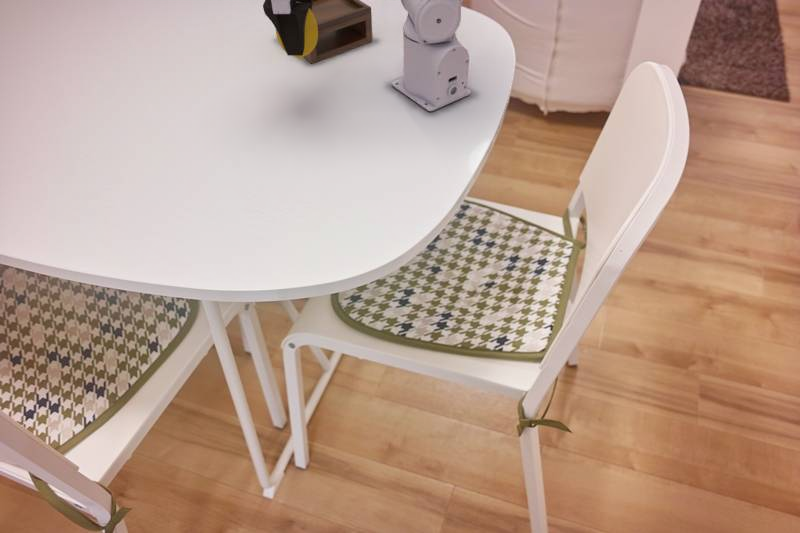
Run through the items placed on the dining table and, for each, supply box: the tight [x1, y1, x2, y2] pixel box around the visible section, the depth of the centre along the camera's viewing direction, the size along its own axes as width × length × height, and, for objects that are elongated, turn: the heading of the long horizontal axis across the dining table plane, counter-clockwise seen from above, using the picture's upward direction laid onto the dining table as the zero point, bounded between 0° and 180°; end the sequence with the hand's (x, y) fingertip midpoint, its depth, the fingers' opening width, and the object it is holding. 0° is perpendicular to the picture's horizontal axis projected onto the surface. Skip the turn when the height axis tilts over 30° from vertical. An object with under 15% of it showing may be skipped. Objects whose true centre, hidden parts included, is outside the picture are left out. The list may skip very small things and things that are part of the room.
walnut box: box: [302, 0, 374, 65], centre depth 100 cm, size 10×12×6 cm
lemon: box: [275, 0, 318, 60], centre depth 81 cm, size 6×6×8 cm
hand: (299, 43), depth 82 cm, fingers closed on lemon, 5 cm apart
